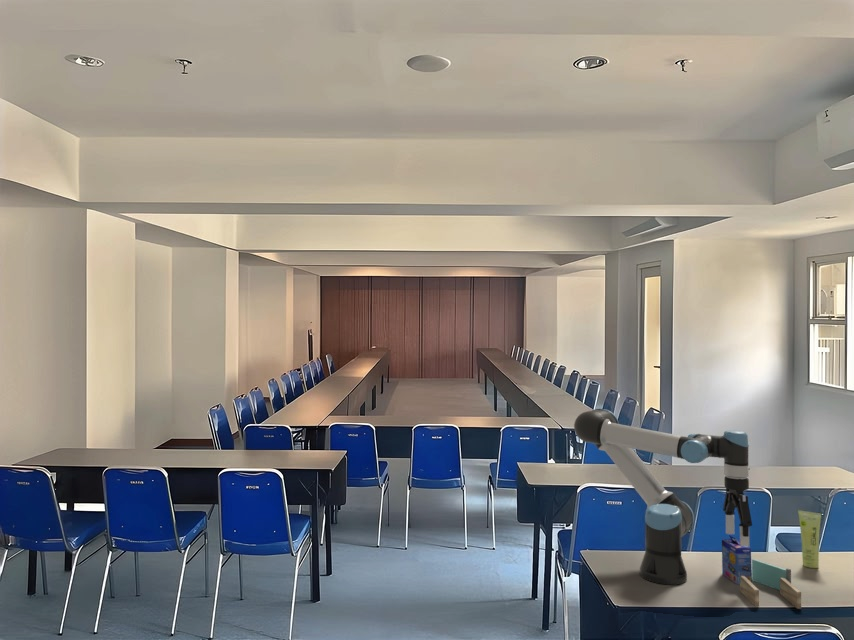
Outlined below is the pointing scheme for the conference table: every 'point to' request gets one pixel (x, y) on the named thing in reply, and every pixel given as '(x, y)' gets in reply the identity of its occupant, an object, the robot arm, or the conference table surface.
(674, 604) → the conference table surface
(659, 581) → the robot arm
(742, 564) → the ink cartridge box
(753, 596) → the pair of wooden planks
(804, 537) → the tube
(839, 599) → the conference table surface
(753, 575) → the gate
